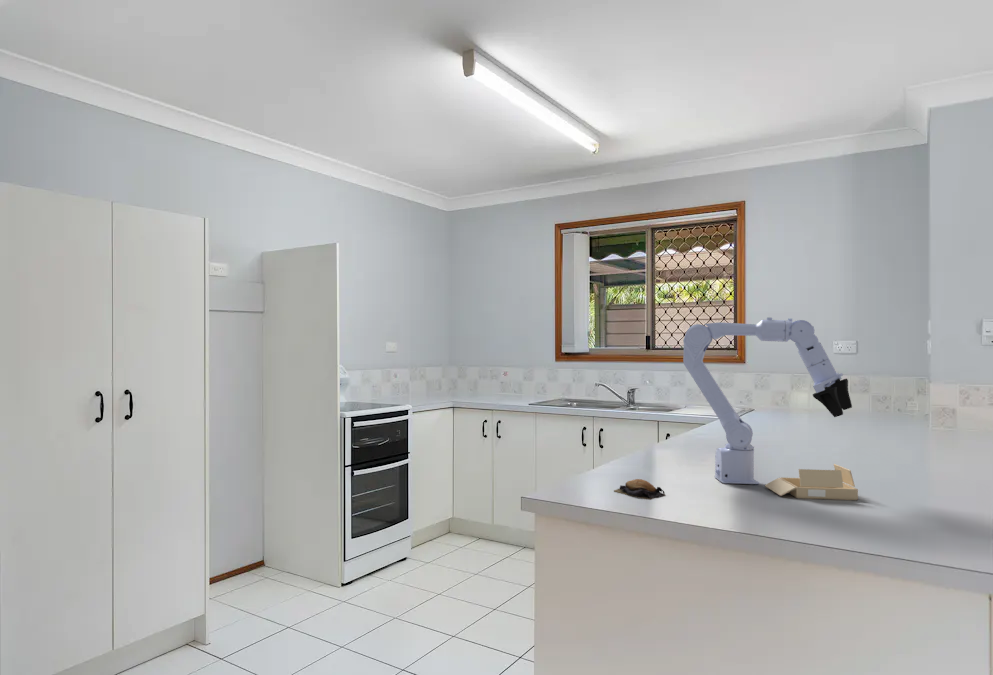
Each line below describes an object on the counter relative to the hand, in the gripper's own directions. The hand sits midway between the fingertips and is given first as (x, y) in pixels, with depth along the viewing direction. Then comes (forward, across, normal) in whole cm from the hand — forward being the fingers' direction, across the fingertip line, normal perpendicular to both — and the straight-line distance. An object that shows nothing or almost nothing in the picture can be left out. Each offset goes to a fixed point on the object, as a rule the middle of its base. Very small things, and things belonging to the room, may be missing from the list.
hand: (843, 412), depth 155 cm
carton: (+14, -11, +13) cm, 22 cm away
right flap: (+14, -6, +5) cm, 16 cm away
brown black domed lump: (-1, -44, +36) cm, 57 cm away
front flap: (+11, -15, +7) cm, 20 cm away
